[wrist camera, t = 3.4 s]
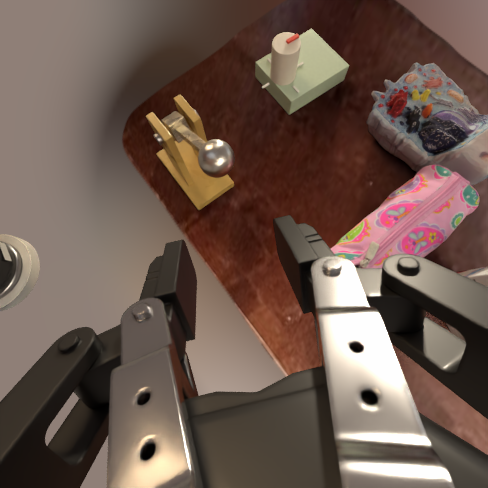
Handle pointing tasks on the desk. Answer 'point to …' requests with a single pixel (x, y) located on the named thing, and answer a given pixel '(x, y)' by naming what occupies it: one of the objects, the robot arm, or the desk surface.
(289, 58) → the knob
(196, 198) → the bracket
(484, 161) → the cell model
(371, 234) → the pencil case
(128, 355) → the robot arm
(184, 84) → the desk surface
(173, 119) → the silver metal rod
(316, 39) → the panel
